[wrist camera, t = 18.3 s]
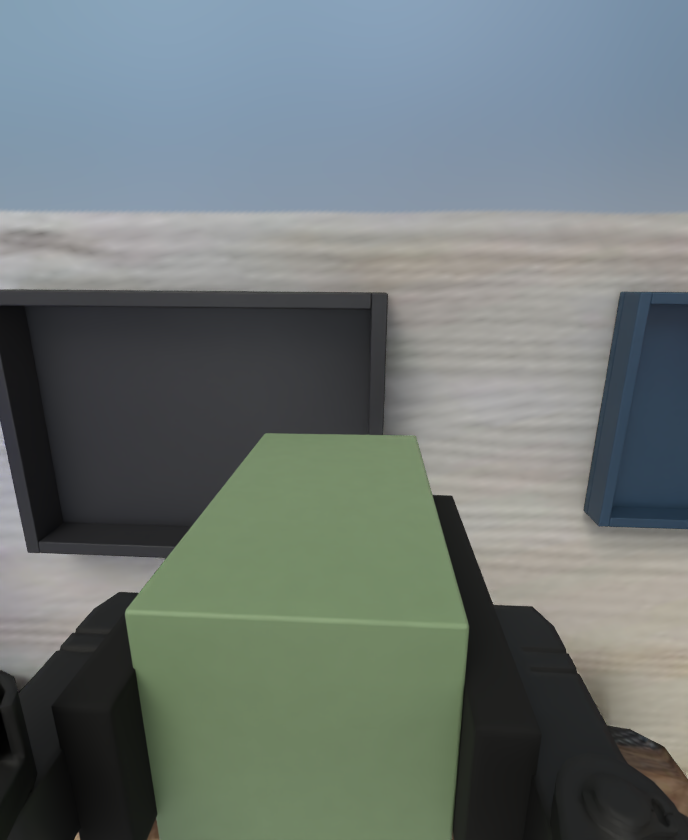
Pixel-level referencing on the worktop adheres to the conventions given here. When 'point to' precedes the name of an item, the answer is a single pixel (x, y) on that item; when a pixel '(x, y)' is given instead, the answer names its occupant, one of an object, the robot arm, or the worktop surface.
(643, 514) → the tray
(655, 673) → the worktop surface
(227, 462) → the pan
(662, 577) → the worktop surface
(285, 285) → the worktop surface
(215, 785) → the block
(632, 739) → the log
